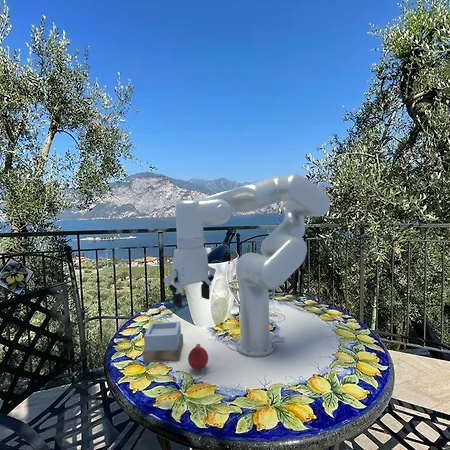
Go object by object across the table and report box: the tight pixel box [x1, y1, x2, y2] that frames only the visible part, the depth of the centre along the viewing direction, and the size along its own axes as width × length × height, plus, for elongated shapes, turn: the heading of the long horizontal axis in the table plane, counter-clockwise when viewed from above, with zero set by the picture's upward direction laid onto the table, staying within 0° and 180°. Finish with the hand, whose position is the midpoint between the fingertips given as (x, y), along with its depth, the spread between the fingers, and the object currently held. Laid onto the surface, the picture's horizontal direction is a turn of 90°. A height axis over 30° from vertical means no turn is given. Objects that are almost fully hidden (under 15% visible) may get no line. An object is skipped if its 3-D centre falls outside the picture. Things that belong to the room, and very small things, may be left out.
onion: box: [187, 343, 209, 372], centre depth 90 cm, size 6×6×8 cm
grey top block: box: [143, 321, 182, 351], centre depth 100 cm, size 10×10×5 cm
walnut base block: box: [142, 333, 184, 364], centre depth 101 cm, size 11×11×4 cm
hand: (192, 302), depth 89 cm, fingers open, 9 cm apart
